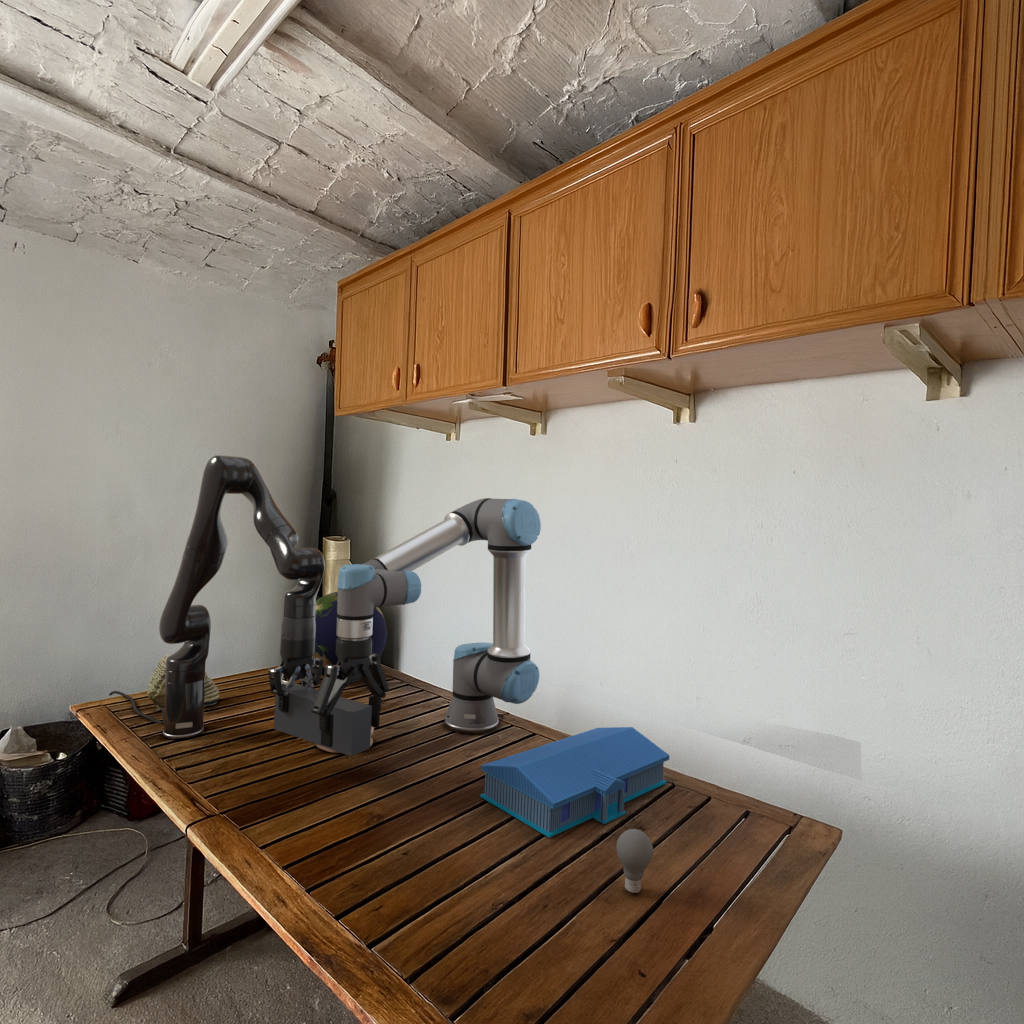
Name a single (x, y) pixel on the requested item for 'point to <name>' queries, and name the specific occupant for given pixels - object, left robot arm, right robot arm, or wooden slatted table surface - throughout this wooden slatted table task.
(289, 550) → the left robot arm
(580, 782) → the model building
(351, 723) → the bar
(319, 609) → the globe
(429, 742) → the wooden slatted table surface
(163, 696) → the fossil
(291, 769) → the wooden slatted table surface
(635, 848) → the light bulb
